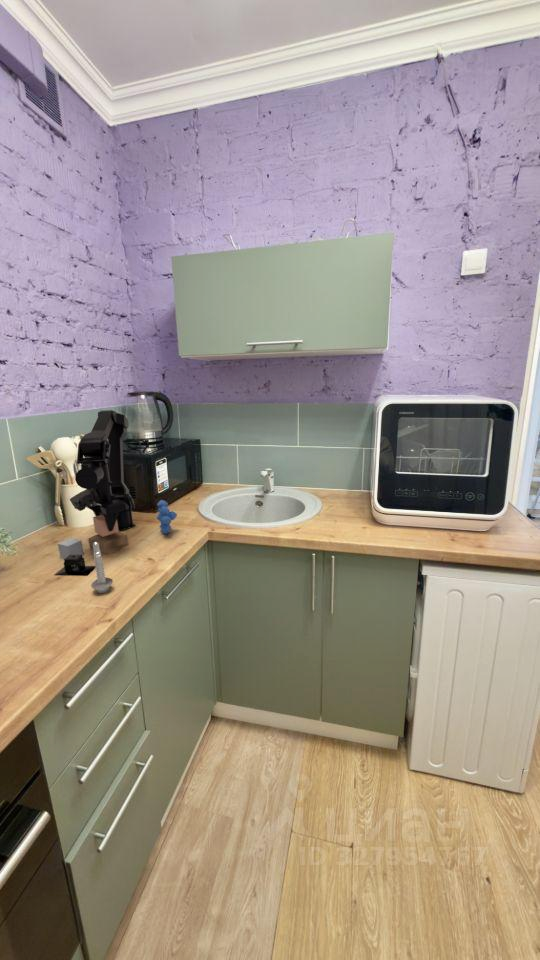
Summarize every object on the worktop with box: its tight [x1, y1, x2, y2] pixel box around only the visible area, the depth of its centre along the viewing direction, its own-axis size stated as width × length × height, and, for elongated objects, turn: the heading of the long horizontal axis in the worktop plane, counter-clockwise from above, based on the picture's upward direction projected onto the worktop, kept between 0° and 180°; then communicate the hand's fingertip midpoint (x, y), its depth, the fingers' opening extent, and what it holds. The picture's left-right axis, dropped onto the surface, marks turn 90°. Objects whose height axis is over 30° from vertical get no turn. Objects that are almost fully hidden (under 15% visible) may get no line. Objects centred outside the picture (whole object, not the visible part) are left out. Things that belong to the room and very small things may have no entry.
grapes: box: [156, 499, 178, 535], centre depth 130 cm, size 12×7×12 cm, turn 21°
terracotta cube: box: [92, 515, 120, 537], centre depth 121 cm, size 5×5×5 cm
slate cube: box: [57, 537, 84, 560], centre depth 117 cm, size 4×4×4 cm
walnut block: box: [87, 531, 129, 556], centre depth 122 cm, size 8×8×4 cm
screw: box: [90, 542, 114, 594], centre depth 96 cm, size 13×5×5 cm
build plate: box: [53, 554, 96, 577], centre depth 108 cm, size 12×7×5 cm, turn 85°
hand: (106, 528), depth 121 cm, fingers closed on terracotta cube, 5 cm apart
